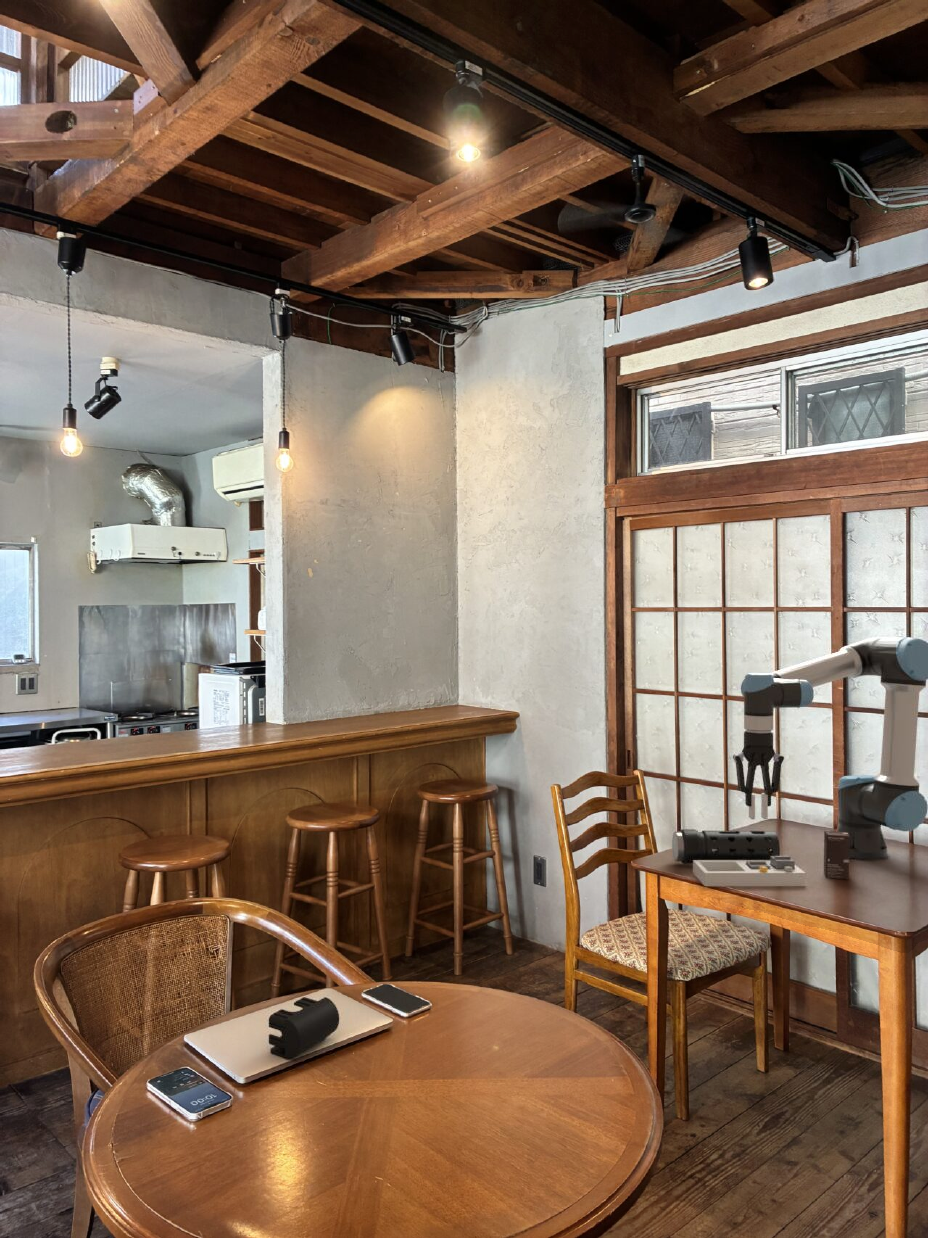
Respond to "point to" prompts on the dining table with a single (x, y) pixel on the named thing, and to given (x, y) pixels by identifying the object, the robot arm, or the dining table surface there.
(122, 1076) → the dining table surface
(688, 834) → the muzzle brake
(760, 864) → the button
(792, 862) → the button
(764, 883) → the grey compartment tray
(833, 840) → the box
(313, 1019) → the end cap
